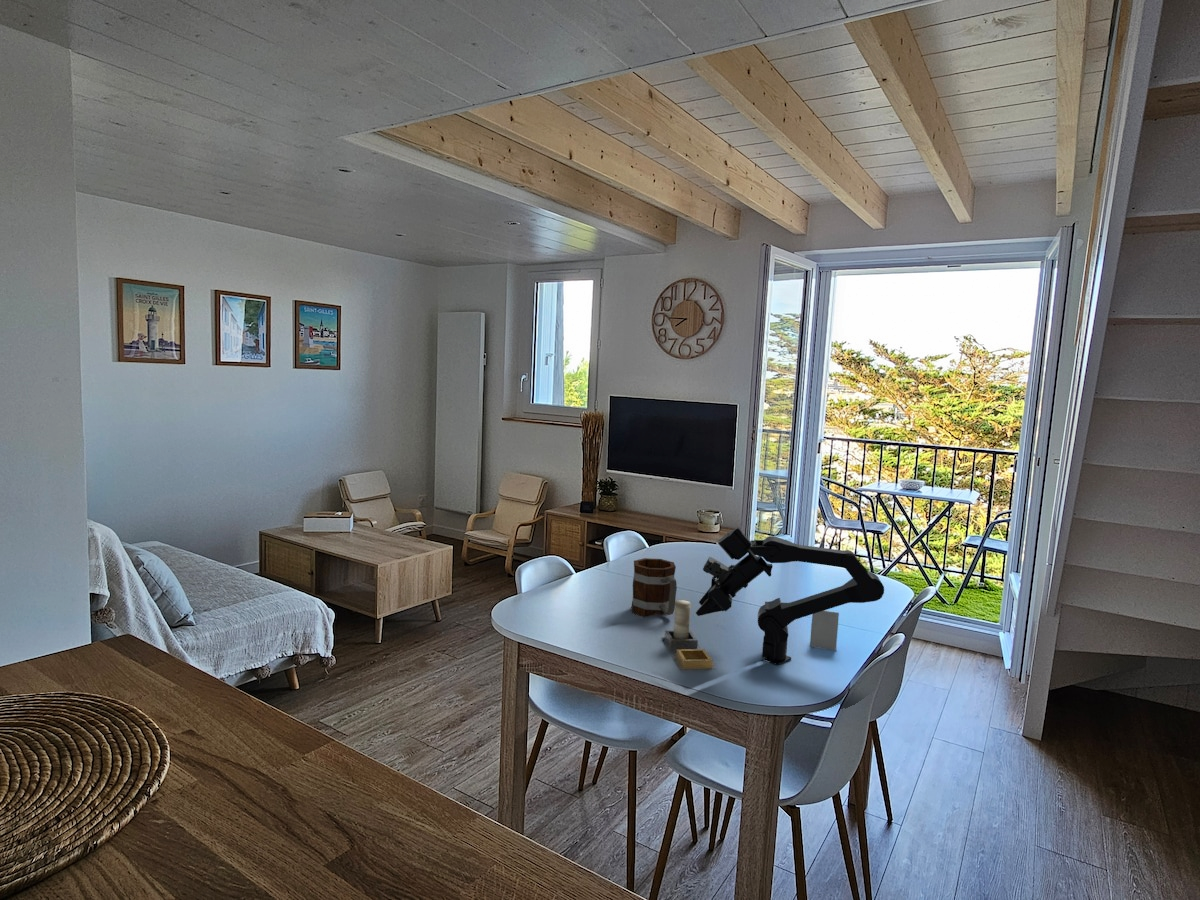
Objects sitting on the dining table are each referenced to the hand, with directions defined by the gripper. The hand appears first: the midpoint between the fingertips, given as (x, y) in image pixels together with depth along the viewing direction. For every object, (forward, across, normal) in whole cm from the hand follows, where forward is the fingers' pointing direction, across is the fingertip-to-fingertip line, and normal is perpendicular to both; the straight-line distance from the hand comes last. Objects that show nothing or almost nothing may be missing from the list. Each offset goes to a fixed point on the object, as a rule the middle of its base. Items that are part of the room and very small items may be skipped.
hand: (698, 608), depth 184 cm
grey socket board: (+9, +6, +6) cm, 13 cm away
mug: (+18, -24, -2) cm, 30 cm away
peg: (+10, 0, +4) cm, 11 cm away
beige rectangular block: (-16, -14, +32) cm, 38 cm away
